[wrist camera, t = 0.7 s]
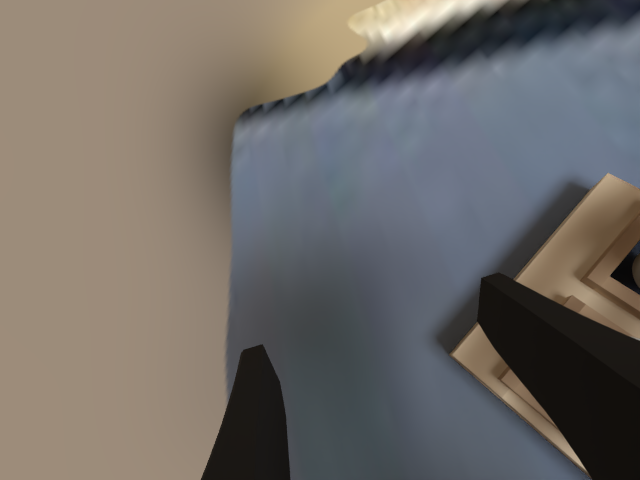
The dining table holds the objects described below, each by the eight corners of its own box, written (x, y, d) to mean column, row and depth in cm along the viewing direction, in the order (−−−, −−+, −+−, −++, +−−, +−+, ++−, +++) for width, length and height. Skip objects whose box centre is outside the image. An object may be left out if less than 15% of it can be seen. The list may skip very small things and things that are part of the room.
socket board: (794, 298, 20) (865, 288, 17) (627, 510, 19) (669, 541, 16) (590, 189, 25) (616, 165, 22) (448, 354, 24) (453, 355, 21)
